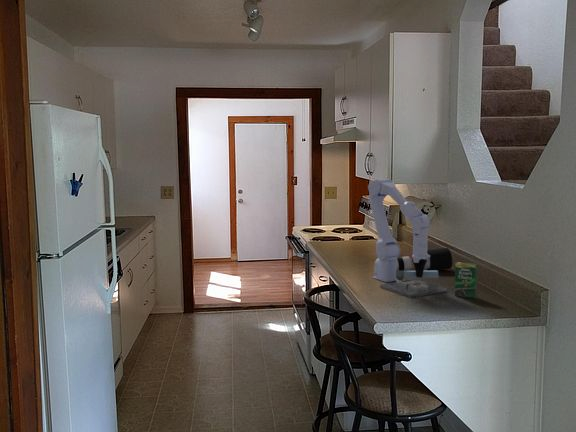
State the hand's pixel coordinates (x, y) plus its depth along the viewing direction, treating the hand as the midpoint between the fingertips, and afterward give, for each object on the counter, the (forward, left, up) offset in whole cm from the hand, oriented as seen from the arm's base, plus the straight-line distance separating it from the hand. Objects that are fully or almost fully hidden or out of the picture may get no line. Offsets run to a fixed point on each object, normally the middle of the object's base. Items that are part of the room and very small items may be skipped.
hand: (419, 277), depth 221 cm
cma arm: (-2, +1, -1) cm, 2 cm away
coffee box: (+19, +5, -5) cm, 21 cm away
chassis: (+2, -5, -4) cm, 7 cm away
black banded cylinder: (-23, +19, -5) cm, 30 cm away
